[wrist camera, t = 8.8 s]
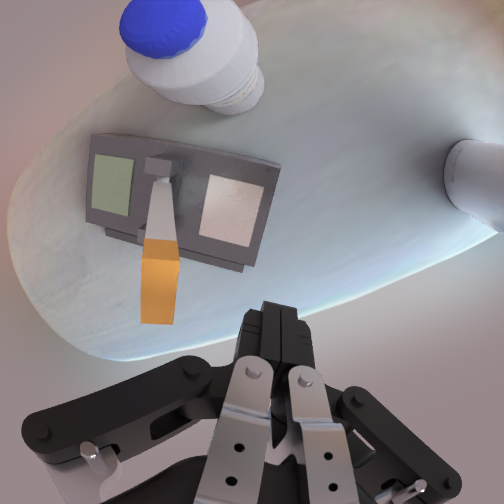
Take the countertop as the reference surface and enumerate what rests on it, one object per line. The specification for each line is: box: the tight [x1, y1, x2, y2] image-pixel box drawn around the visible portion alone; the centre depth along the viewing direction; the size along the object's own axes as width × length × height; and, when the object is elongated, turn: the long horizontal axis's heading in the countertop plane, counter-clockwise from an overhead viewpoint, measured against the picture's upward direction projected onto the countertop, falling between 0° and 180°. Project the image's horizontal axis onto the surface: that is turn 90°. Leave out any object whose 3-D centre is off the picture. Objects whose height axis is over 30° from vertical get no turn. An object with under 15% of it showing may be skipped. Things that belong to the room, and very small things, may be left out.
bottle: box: [119, 0, 264, 115], centre depth 15 cm, size 7×7×20 cm
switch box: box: [86, 133, 281, 267], centre depth 26 cm, size 20×10×7 cm, turn 76°
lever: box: [141, 175, 180, 325], centre depth 18 cm, size 2×4×15 cm, turn 167°
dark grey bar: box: [106, 228, 244, 273], centre depth 31 cm, size 18×2×1 cm, turn 76°
